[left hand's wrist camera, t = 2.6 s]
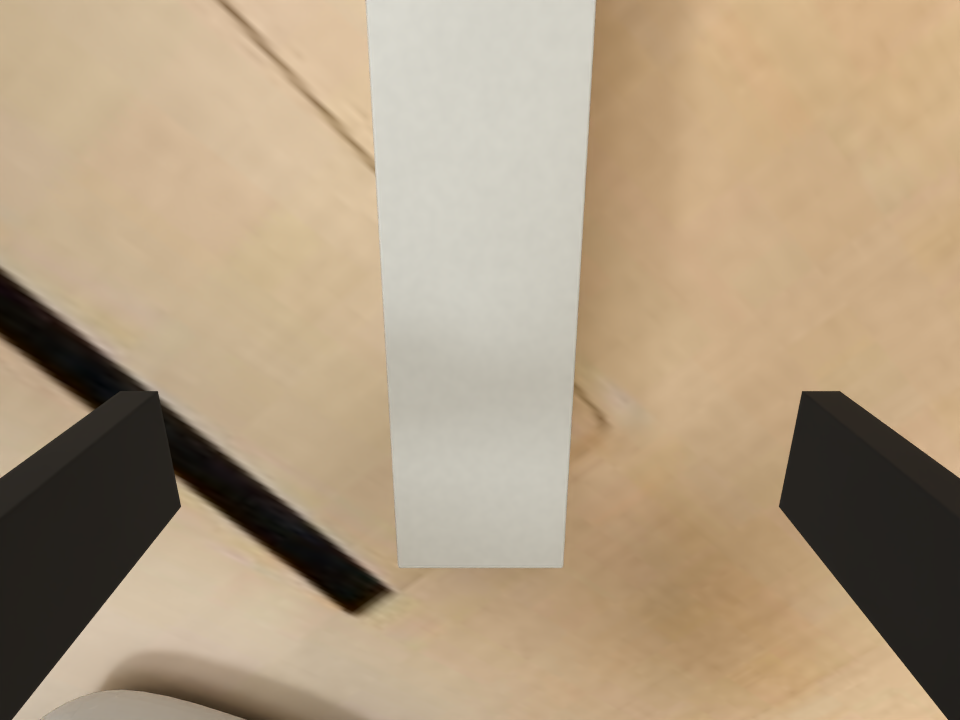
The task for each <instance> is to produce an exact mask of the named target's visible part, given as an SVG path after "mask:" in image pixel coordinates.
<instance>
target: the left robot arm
mask: <svg viewBox="0 0 960 720" xmlns="http://www.w3.org/2000/svg"><path fill="white" fill-rule="evenodd" d="M180 507H181V504H180V499H179V494H178V489H177V484H176V479H175V474H174V469H173V464H172V460H171V455H170V450H169V445H168V440H167V435H166V430H165V425H164V420H163V415H162V410H161V405H160V400H159V395H158V391H120V392H119V393H117V394H116V395H114V396H113V397H112V398H110V399H109V400H108V401H106V402H105V403H103V404H102V405H101V406H99V407H98V408H96V409H95V410H94V411H92V412H91V413H90V414H88V415H87V416H85V417H84V418H83V419H81V420H80V421H79V422H77V423H76V424H74V425H73V426H72V427H70V428H69V429H68V430H66V431H65V432H63V433H62V434H61V435H59V436H58V437H57V438H55V439H54V440H52V441H51V442H50V443H48V444H47V445H46V446H44V447H43V448H41V449H40V450H39V451H37V452H36V453H35V454H33V455H32V456H30V457H29V458H28V459H26V460H25V461H24V462H22V463H21V464H19V465H18V466H17V467H15V468H14V469H13V470H11V471H10V472H8V473H7V474H6V475H4V476H3V477H1V478H0V720H12V719H13V718H14V716H15V715H16V714H17V713H18V711H19V710H20V709H21V708H22V706H23V705H24V704H25V703H26V701H27V700H28V699H29V697H30V696H31V695H32V694H33V692H34V691H35V690H36V689H37V687H38V686H39V685H40V684H41V682H42V681H43V680H44V679H45V677H46V676H47V675H48V674H49V672H50V671H51V670H52V669H53V667H54V666H55V665H56V663H57V662H58V661H59V660H60V658H61V657H62V656H63V655H64V653H65V652H66V651H67V650H68V648H69V647H70V646H71V645H72V643H73V642H74V641H75V640H76V638H77V637H78V636H79V635H80V633H81V632H82V631H83V629H84V628H85V627H86V626H87V624H88V623H89V622H90V621H91V619H92V618H93V617H94V616H95V614H96V613H97V612H98V611H99V609H100V608H101V607H102V606H103V604H104V603H105V602H106V600H107V599H108V598H109V597H110V595H111V594H112V593H113V592H114V590H115V589H116V588H117V587H118V585H119V584H120V583H121V582H122V580H123V579H124V578H125V577H126V575H127V574H128V573H129V572H130V570H131V569H132V568H133V566H134V565H135V564H136V563H137V561H138V560H139V559H140V558H141V556H142V555H143V554H144V553H145V551H146V550H147V549H148V548H149V546H150V545H151V544H152V543H153V541H154V540H155V539H156V538H157V536H158V535H159V534H160V532H161V531H162V530H163V529H164V527H165V526H166V525H167V524H168V522H169V521H170V520H171V519H172V517H173V516H174V515H175V514H176V512H177V511H178V510H179V509H180ZM779 507H780V509H781V510H782V511H783V512H784V514H785V515H786V516H787V517H788V519H789V520H790V521H791V522H792V524H793V525H794V526H795V527H796V529H797V530H798V531H799V532H800V534H801V535H802V536H803V538H804V539H805V540H806V541H807V543H808V544H809V545H810V546H811V548H812V549H813V550H814V551H815V553H816V554H817V555H818V556H819V558H820V559H821V560H822V561H823V563H824V564H825V565H826V566H827V568H828V569H829V570H830V572H831V573H832V574H833V575H834V577H835V578H836V579H837V580H838V582H839V583H840V584H841V585H842V587H843V588H844V589H845V590H846V592H847V593H848V594H849V595H850V597H851V598H852V599H853V600H854V602H855V603H856V604H857V606H858V607H859V608H860V609H861V611H862V612H863V613H864V614H865V616H866V617H867V618H868V619H869V621H870V622H871V623H872V624H873V626H874V627H875V628H876V629H877V631H878V632H879V633H880V635H881V636H882V637H883V638H884V640H885V641H886V642H887V643H888V645H889V646H890V647H891V648H892V650H893V651H894V652H895V653H896V655H897V656H898V657H899V658H900V660H901V661H902V662H903V663H904V665H905V666H906V667H907V669H908V670H909V671H910V672H911V674H912V675H913V676H914V677H915V679H916V680H917V681H918V682H919V684H920V685H921V686H922V687H923V689H924V690H925V691H926V692H927V694H928V695H929V696H930V697H931V699H932V700H933V701H934V703H935V704H936V705H937V706H938V708H939V709H940V710H941V711H942V713H943V714H944V715H945V716H946V718H947V719H948V720H960V478H959V477H957V476H956V475H954V474H953V473H952V472H950V471H949V470H947V469H946V468H945V467H943V466H942V465H941V464H939V463H938V462H936V461H935V460H934V459H932V458H931V457H930V456H928V455H927V454H925V453H924V452H923V451H921V450H920V449H919V448H917V447H916V446H914V445H913V444H912V443H910V442H909V441H908V440H906V439H905V438H903V437H902V436H901V435H899V434H898V433H897V432H895V431H894V430H892V429H891V428H890V427H888V426H887V425H886V424H884V423H883V422H881V421H880V420H879V419H877V418H876V417H875V416H873V415H872V414H870V413H869V412H868V411H866V410H865V409H864V408H862V407H861V406H859V405H858V404H857V403H855V402H854V401H852V400H851V399H850V398H848V397H847V396H846V395H844V394H843V393H841V392H840V391H802V395H801V400H800V405H799V410H798V415H797V420H796V425H795V430H794V435H793V440H792V445H791V450H790V455H789V459H788V464H787V469H786V474H785V479H784V484H783V489H782V494H781V499H780V504H779Z"/></svg>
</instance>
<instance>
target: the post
mask: <svg viewBox="0 0 960 720" xmlns="http://www.w3.org/2000/svg"><path fill="white" fill-rule="evenodd" d="M595 14H596V0H366V17H367V34H368V52H369V69H370V87H371V104H372V122H373V139H374V156H375V174H376V191H377V209H378V226H379V243H380V261H381V278H382V296H383V313H384V330H385V348H386V365H387V383H388V400H389V417H390V435H391V452H392V470H393V487H394V505H395V522H396V539H397V557H398V567H399V568H562V567H563V563H564V545H565V528H566V511H567V494H568V477H569V460H570V443H571V426H572V408H573V391H574V374H575V357H576V340H577V323H578V306H579V289H580V271H581V254H582V237H583V220H584V203H585V186H586V169H587V151H588V134H589V117H590V100H591V83H592V66H593V49H594V32H595Z"/></svg>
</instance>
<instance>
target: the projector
mask: <svg viewBox="0 0 960 720" xmlns="http://www.w3.org/2000/svg"><path fill="white" fill-rule="evenodd" d="M40 720H246V719H243V718H240V717H237V716H234V715H231V714H228V713H225V712H221V711H218V710H215V709H212V708H209V707H206V706H202V705H199V704H196V703H192V702H188V701H185V700H181V699H177V698H173V697H169V696H164V695H159V694H154V693H149V692H143V691H132V690H107V691H101V692H95V693H92V694H88V695H85V696H82V697H79V698H76V699H74V700H72V701H70V702H67V703H65V704H64V705H62V706H60V707H58V708H56V709H55V710H53V711H51V712H50V713H48V714H47V715H45V716H44V717H43V718H41V719H40Z"/></svg>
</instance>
